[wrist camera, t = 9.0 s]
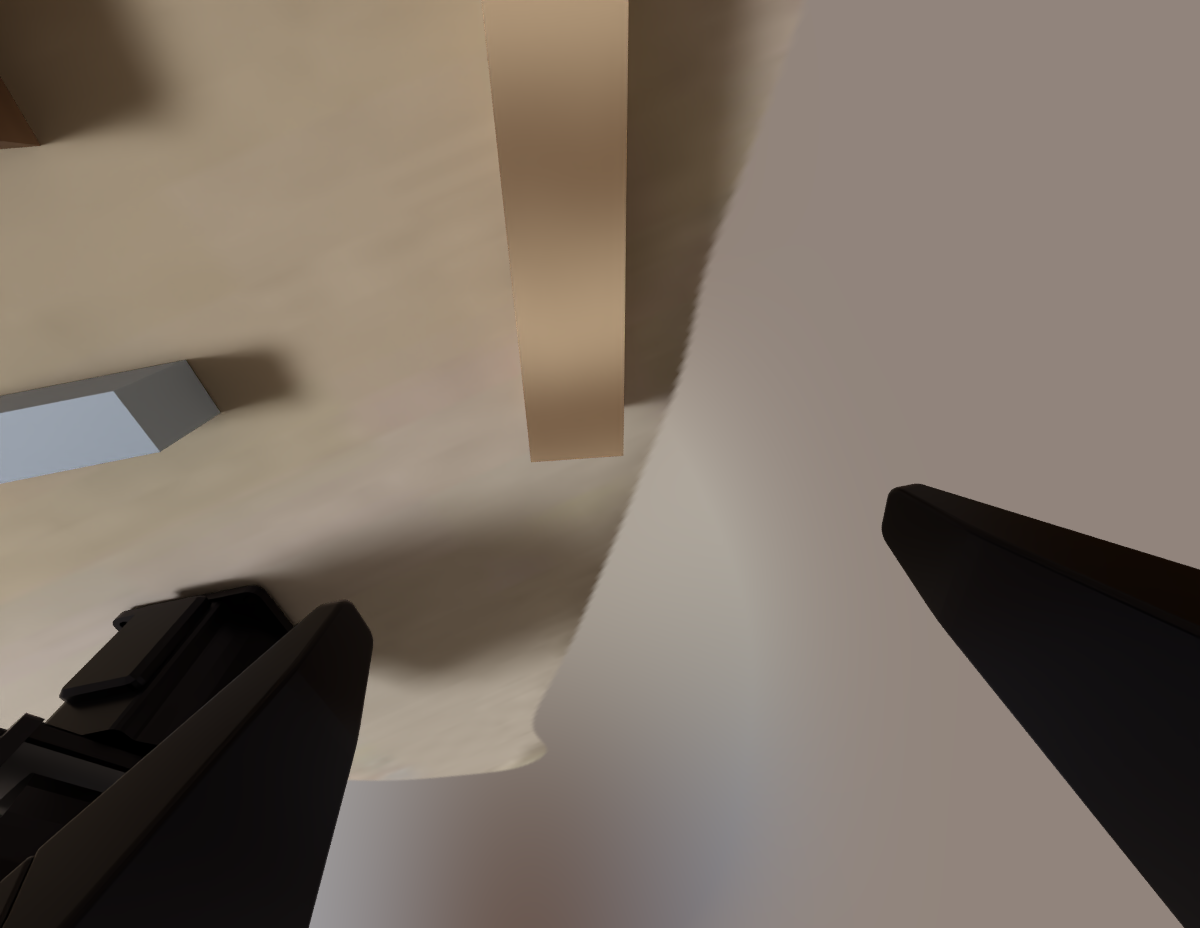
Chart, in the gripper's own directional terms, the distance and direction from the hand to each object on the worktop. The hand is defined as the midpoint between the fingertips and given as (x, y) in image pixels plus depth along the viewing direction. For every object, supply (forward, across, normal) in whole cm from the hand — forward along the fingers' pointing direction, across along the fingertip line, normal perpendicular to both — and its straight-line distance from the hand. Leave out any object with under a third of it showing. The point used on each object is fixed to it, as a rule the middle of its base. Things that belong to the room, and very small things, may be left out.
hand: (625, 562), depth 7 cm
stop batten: (+11, +17, -2) cm, 20 cm away
